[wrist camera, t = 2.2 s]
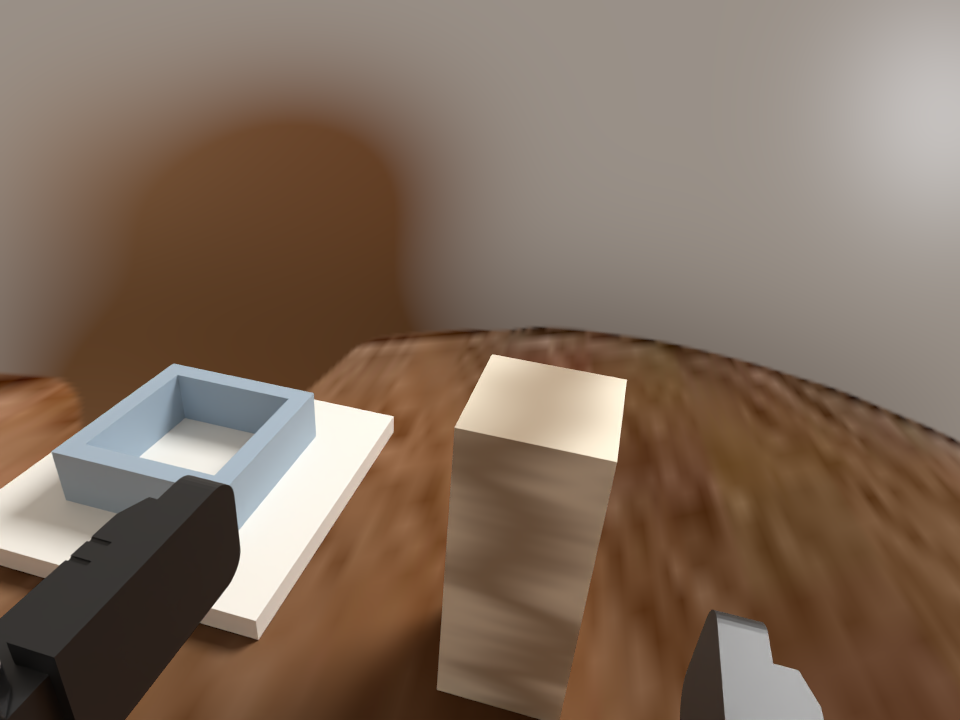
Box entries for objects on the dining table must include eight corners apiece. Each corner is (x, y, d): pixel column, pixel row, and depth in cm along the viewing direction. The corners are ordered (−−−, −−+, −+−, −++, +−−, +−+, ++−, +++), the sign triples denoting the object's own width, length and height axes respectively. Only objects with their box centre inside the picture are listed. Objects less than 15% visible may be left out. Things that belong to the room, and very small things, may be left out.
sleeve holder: (393, 432, 42) (394, 375, 40) (258, 639, 28) (248, 569, 26) (170, 383, 45) (160, 328, 43) (-50, 550, 31) (-81, 481, 29)
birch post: (574, 622, 30) (626, 379, 24) (558, 724, 26) (616, 462, 20) (468, 595, 31) (492, 354, 25) (436, 689, 27) (454, 427, 20)
